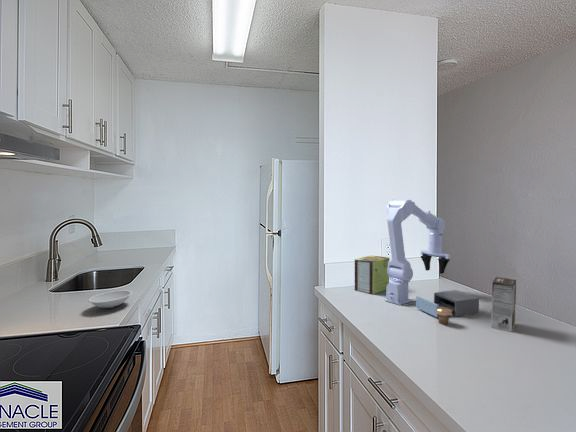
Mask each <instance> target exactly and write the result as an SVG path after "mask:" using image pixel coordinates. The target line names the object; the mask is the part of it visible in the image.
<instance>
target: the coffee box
mask: <svg viewBox="0 0 576 432" xmlns="http://www.w3.org/2000/svg"><path fill="white" fill-rule="evenodd" d="M491 286H492V287H491V288H492V289H491V292H492V293H491V317H490V318H491V319H490V320H491V324H490V327H491V328H492V329H497V330H502V331H507V332H511V333H513V331H514V329H515V328H514V327H515V325H516V300H517V295H516V294H517V279H512V278H508V277H507V278H506V277H497V276H496V277H494V280H493V281H492V285H491Z"/></svg>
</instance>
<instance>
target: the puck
mask: <svg viewBox="0 0 576 432" xmlns="http://www.w3.org/2000/svg"><path fill="white" fill-rule="evenodd" d="M436 314H438V316H439V315H441V316H449V317H451V316H453V315H452V309H450V308H447V307H437V308H436Z"/></svg>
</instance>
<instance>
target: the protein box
mask: <svg viewBox="0 0 576 432" xmlns="http://www.w3.org/2000/svg"><path fill="white" fill-rule="evenodd" d="M389 261H390V257H389V256H388V257H387V256H380V255H379V256H378V255H374V254H373V255H372V254H371V255H367V256H366V255H365V256H362V257H359V258H355V259H354V291H357V292H361V293H363V294H364V293H365V294H370V295H374V294H375V295H376V294H377V293H380V292H383V291H386V287H387V285H388V284H389V283H390V277H389V276H388V274H387V269H388V262H389Z"/></svg>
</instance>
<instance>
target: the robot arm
mask: <svg viewBox="0 0 576 432" xmlns="http://www.w3.org/2000/svg"><path fill="white" fill-rule="evenodd" d="M387 203H388V204H387V205H386V213H387V214H386V215H387V218H386V221H387V229H388V236H389V237H388V238H389V245H390V253H391V259H389V262H388V269H387V274H388V276H389V280H390V281H389V284H388V285H387V287H386V290H385V295H386V296H385V297H386V298H385V299H384V301H386V302H388V303H392V304H394V305H400V306H402V305H404V304H408V303H410V302H413V299H411V298H409V283H410V282H411V280H412V279H413V277H414V270H413V269H412V267H411V263H410V262H409V260H407V258H406V253H405V246H404V245H405V244H404V238H403V237H404V236H403V228H402V227H403V226H402V223H403V222H404V221H405V220H407V218H408V217H410V216H411V215H413V216H415V217H417V218H418V221H419V222H420V223H422V224H423V225H425V227H426V229H427V230H428V249H427V250H425V249H424V250H420V259H421V261H422V262H423V264H424V268H425V269H424V270H425V271H430V270H431V260H432V257H435V258H437V260H438V265H439V274H440V275H441V274H445V271H446V267H447V265H448V263H449V262H450V260H451V254H449V253H444V252H442V251H443V246H442V245H443V234H444V230H445V227H446V221H445V220H444V219H443V218H441V217H438V216H436V215H435V214H432V213H431V210H423V209H421V208H420V207H418V205H416V203H415V201H412V200H411V199H405V200H404V199H391V200H389V202H387Z"/></svg>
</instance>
